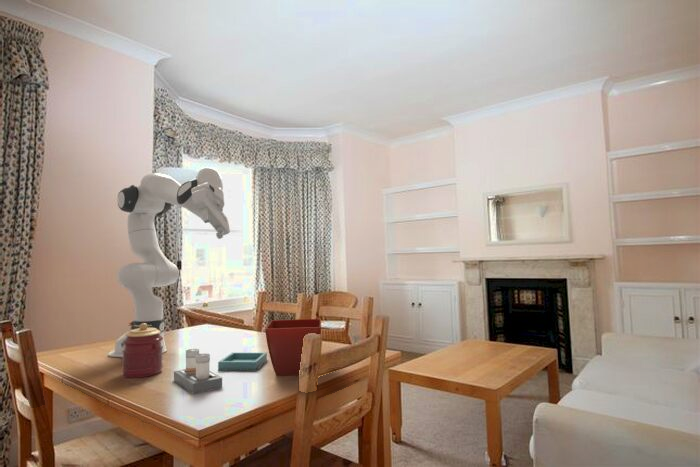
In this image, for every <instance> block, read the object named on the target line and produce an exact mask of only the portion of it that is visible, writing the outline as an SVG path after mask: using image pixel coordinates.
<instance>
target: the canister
mask: <svg viewBox="0 0 700 467" xmlns="http://www.w3.org/2000/svg"><path fill="white" fill-rule="evenodd" d="M147 327H148V326H147V324H146V323H142V324H140V326H139V328H138V329H133V330H130V329H129V330H130V332H128V331H127V332H128V333H126V332H125V333H126V334H125V333H124V334H125V336H127V337H126V339H125V340H123V344H124V350H123V351H122V352H123V357H122V367H121V373H122V377H124V378H129V379H134V378H135V379H137V378H145V377H151V376H155V375H158V374H160V373H161V372H162V371H163V366H164V365H163V364H164V363H163V353H162V349H163V346H162V342H161V341H162V340H163V337H162V336H160V334H159V333H161V331H160V330H157V329H156V328H147Z"/></svg>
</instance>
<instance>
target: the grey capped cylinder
mask: <svg viewBox="0 0 700 467" xmlns="http://www.w3.org/2000/svg"><path fill="white" fill-rule="evenodd" d="M198 354H200V348H191V349H190V348H189V349H186V350H185V369H186V373H187V375H188V374H193V373H196V355H198Z"/></svg>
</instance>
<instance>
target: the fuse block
mask: <svg viewBox="0 0 700 467" xmlns="http://www.w3.org/2000/svg"><path fill="white" fill-rule="evenodd" d="M173 381H174V382H176V383H177V384H178V385H180V386H181V387H183V388H184V389H185V390H187V392H189V393H191V394H192V395H195V394H200V393H204V392H209V391H213V390H216V389H217V390H218V389H221V388H223V377H222V376H220V375H218V374H217V373H214V372H212V371H211V370H209V379H205V380H200V381H197V379H196V373H193V374H188V375H187V373H186V368H183V369H179V370H174V371H173Z"/></svg>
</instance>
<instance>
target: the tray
mask: <svg viewBox="0 0 700 467" xmlns="http://www.w3.org/2000/svg"><path fill="white" fill-rule="evenodd" d="M267 361H268V352H231V353H229V354H227V355H226V356H225V357H223V358H222V359H220V360H219V361H218V362H217V364H218V365H217V371H242V372H243V371H254V372H256V371H258V370H259V368H261V366H263V364H265V363H266V362H267Z"/></svg>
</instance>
